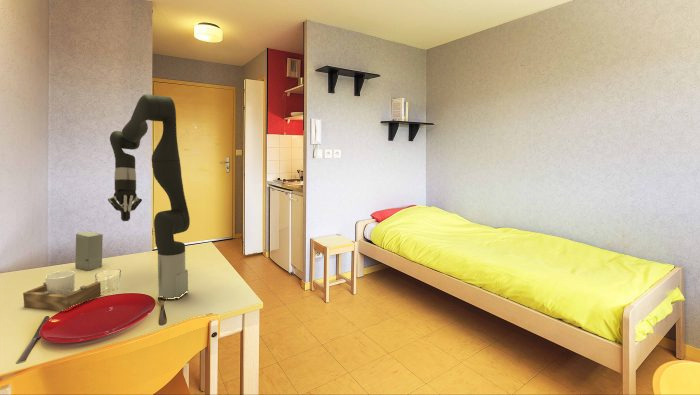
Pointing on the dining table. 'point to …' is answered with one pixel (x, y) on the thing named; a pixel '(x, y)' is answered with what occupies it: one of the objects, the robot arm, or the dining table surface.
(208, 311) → the dining table surface
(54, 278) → the white cup
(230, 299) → the dining table surface
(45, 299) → the wooden tray
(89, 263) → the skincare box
